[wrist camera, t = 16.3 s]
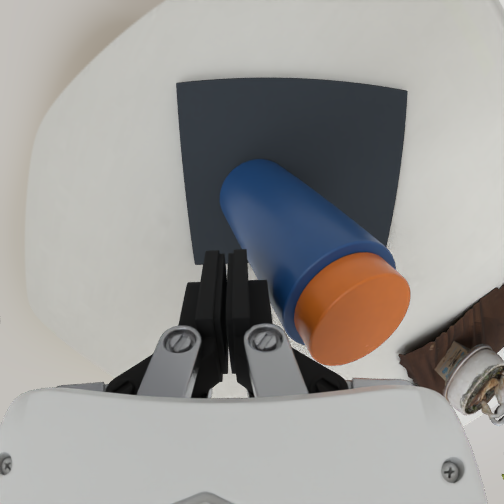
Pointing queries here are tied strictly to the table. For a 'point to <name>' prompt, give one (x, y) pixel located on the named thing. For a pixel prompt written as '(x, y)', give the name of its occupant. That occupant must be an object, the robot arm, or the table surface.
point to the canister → (314, 263)
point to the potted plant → (466, 360)
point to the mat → (291, 146)
